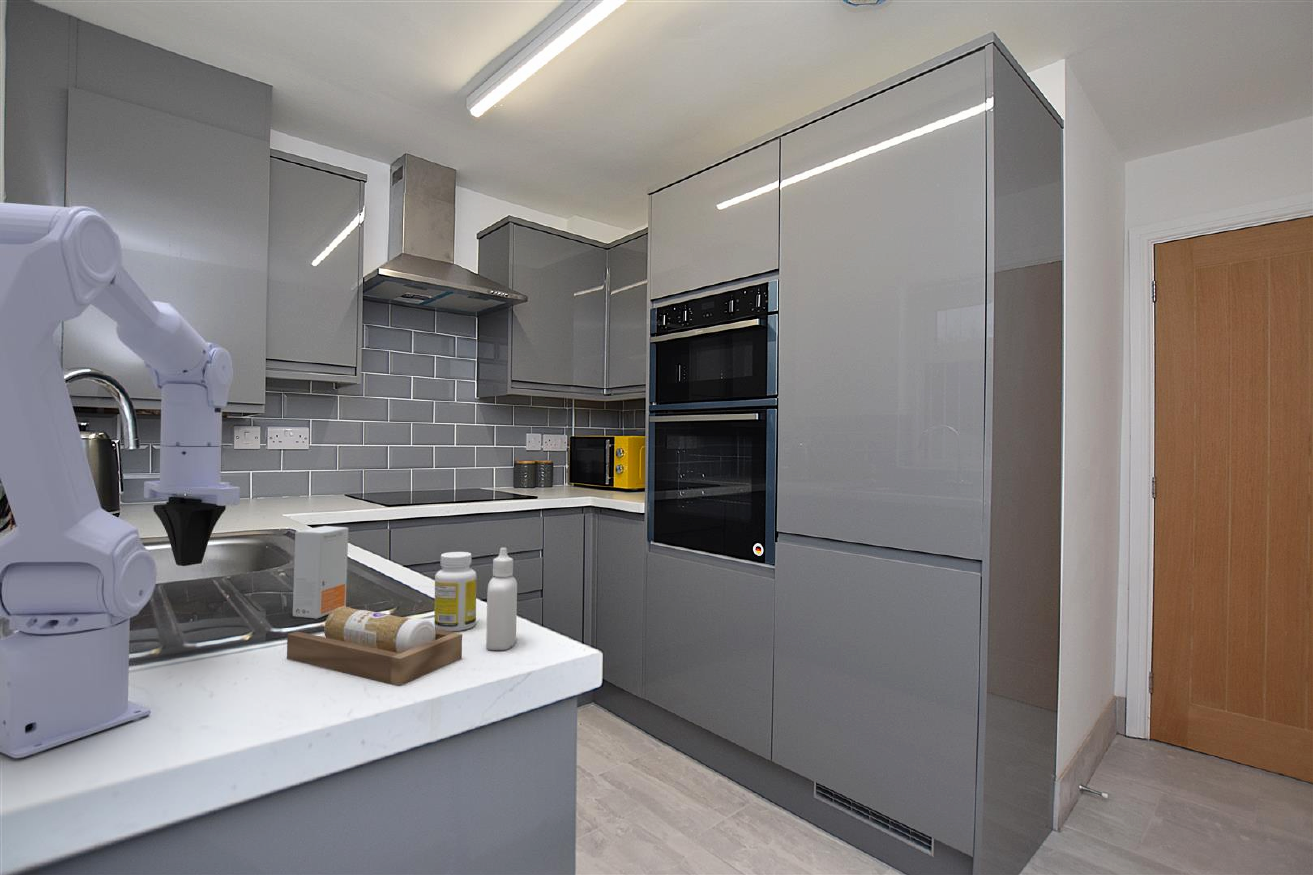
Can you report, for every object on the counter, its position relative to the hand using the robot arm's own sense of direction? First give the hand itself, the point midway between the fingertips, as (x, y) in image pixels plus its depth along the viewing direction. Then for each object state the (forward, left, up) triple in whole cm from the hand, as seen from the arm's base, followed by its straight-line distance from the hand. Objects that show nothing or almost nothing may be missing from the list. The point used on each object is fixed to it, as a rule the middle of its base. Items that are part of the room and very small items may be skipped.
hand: (189, 564), depth 75 cm
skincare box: (+19, +2, -11) cm, 22 cm away
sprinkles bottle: (+10, -12, -8) cm, 17 cm away
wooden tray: (+9, -19, -10) cm, 23 cm away
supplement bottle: (+23, -19, -11) cm, 32 cm away
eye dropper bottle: (+20, -29, -11) cm, 37 cm away
